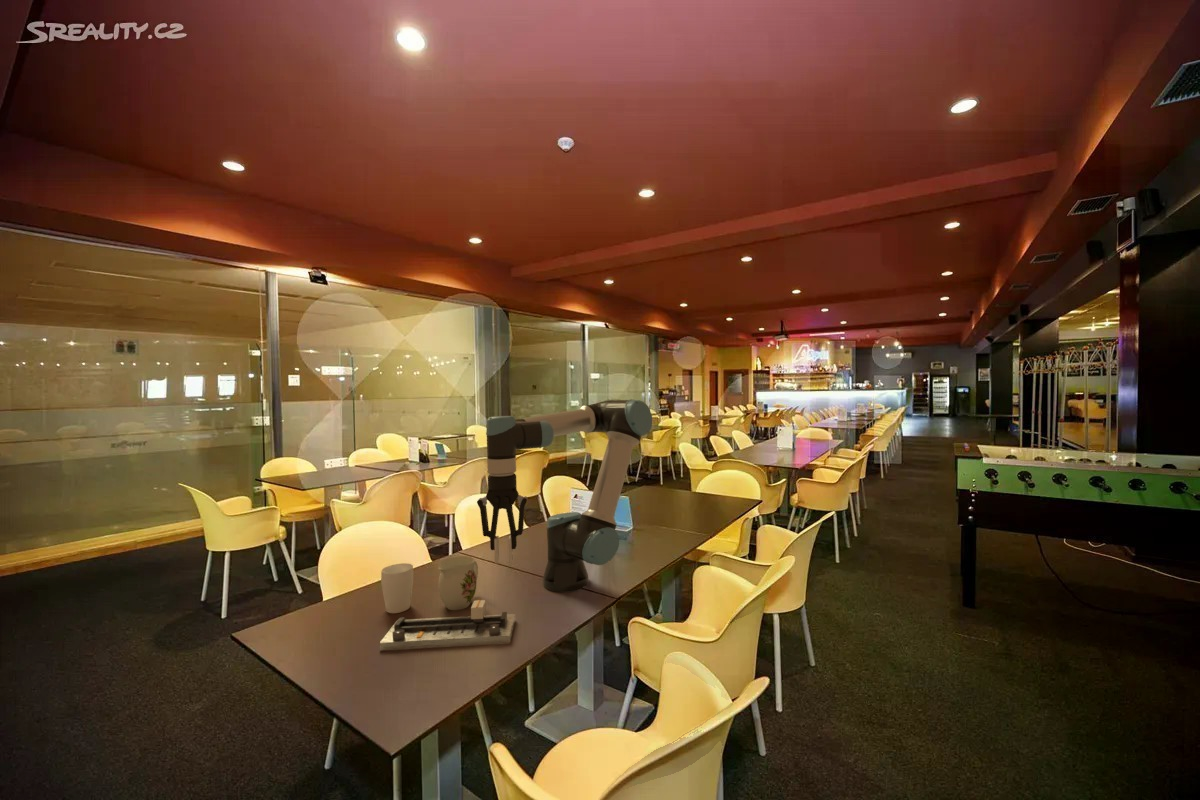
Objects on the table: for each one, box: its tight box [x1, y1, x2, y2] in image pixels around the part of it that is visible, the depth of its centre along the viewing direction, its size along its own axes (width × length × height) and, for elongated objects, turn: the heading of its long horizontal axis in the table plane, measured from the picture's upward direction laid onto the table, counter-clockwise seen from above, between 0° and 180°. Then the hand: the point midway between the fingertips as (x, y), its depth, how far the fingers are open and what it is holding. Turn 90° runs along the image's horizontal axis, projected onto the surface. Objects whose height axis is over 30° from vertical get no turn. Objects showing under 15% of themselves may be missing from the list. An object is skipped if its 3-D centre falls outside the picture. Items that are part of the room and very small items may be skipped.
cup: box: [380, 562, 415, 614], centre depth 140 cm, size 9×9×12 cm
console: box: [379, 611, 516, 652], centre depth 123 cm, size 32×12×4 cm, turn 94°
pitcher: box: [437, 555, 479, 611], centre depth 142 cm, size 11×18×14 cm, turn 161°
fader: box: [470, 599, 487, 623], centre depth 125 cm, size 3×4×5 cm, turn 4°
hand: (503, 561), depth 125 cm, fingers open, 3 cm apart
